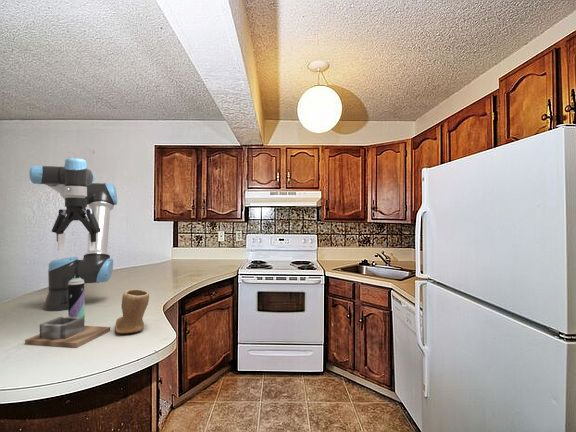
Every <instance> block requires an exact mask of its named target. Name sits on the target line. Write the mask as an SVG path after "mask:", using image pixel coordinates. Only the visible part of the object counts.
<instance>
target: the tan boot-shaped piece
mask: <svg viewBox="0 0 576 432" xmlns="http://www.w3.org/2000/svg"><path fill="white" fill-rule="evenodd" d="M149 301H150V293H149V292H148V291H146V290H143V289H137V288H133V289H132V288H131V289H127V290H125V291H124V292H123V295H122V298H121V311H122V312H121V313H122V316H120V317H119V318H116V321H115V327H114V330H115V332H116V333H118V334H132V333H137V332H141V331H142V330H143V329H144V327H145V322H144V320H143V317H144V314H145V311H146V310H147V307H148V305H149Z"/></svg>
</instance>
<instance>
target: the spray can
mask: <svg viewBox="0 0 576 432" xmlns="http://www.w3.org/2000/svg"><path fill="white" fill-rule="evenodd" d="M85 308H86V307H85V283H84V280H83V279H81V278H80V277H79V275H74V277H73V278H72V279H71V280H70V281H69V283H68V309H67V311H68V316H67V317H82V318H84V323H86V322H85V321H86V320H85V315H86V314H85V312H86V311H85Z"/></svg>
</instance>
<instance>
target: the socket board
mask: <svg viewBox="0 0 576 432" xmlns="http://www.w3.org/2000/svg"><path fill="white" fill-rule="evenodd" d="M110 332H111V327H110V326H97V325H85V322H84V318H82V317H68V316H59V317H56V318H53V319H50V320H47V321H45V322H43V323H40V324H39V333H38V334H35V335H33V336H31V337H29V338H26V339H24V345H31V346H48V347H59V348H60V347H61V348H73V349H74V348H76V349H78V348H79V347H81V346H83V345H85V344H87V343H89V342H91V341H93V340H96V339H98V338H99V337H101V336H104V335H106V334H107V333H110Z"/></svg>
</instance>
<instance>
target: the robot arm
mask: <svg viewBox="0 0 576 432" xmlns="http://www.w3.org/2000/svg"><path fill="white" fill-rule="evenodd" d="M28 174H29V181H30V182H31V183H32V184H34V185H37V184H38V185H45V186H47V187H48V188H51V189H52V190H53V191H55V192H57V193H59V195H60V196H61V198H62V199H64V207H65V208H66V209H62V208H61V209H58V215H57V217H56V220H55V222H54V224H53V227H52V228H51V232H52V233H55V234H56V242H57V251H64V250H65V251H66V233H65V231H66V230H67V228H68V227H69V225H70V224H71V223H72V222H73V221H79V222H81V223H82V225H83V226H84V228H85V229H86V230H87V232H88V234H87V252H86V253H85V254H84V255H83V258H82V259H79V258H78V256H70V257H64V258H58V259H54V260H51V261H49V263H48V270H47V272H48V278H47V279H48V292H47V295H46V299H45V302H44V303H43V310H44V311H48V312H49V311H50V312H52V311H54V312H55V311H56V312H57V311H64V310H68V283H69V281H70V280H71V279H72V278H73V277H74V275H79V277H80V278H81V279H83V280H84V284H101V283H106V282H108V281H109V280H110V279H111V277H112V274H113V270H114V259H113V258H111V254H109V253H108V246H109V245H108V243H109V230H110V218H111V216H110V215H111V211H112V210H113V209H114V206H116V205H118V195H117V188H116V187H115V184H114V183H107V182H104V183H101V182H100V183H99V182H98V183H97V182H94V181H95V175H94V173H93V172H92V170H90V169H89V168H88V163H87V160H85V159H83V158H76V157H70V158H69V157H68V158H65V160H64V166H54V165H53V166H51V165H50V166H49V165H33V166H31V167H30V168H29V173H28ZM87 207H88V208H87ZM86 208H87V209H86Z"/></svg>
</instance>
